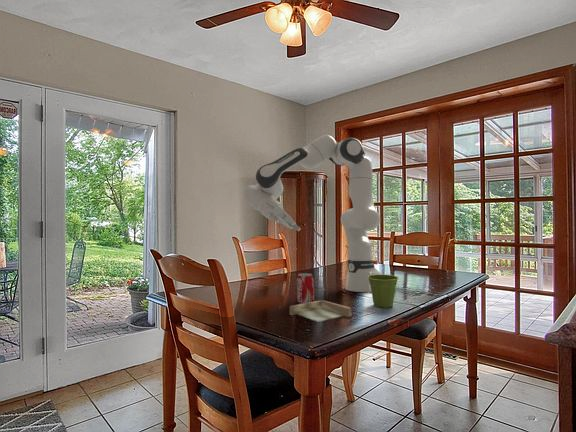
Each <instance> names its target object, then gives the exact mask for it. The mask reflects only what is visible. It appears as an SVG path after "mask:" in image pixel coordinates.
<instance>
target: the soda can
mask: <svg viewBox="0 0 576 432" xmlns="http://www.w3.org/2000/svg"><path fill="white" fill-rule="evenodd" d="M296 300H297V304H303V303H309V302H314V301H315V278H314V276H313V274H312V273H309V272H308V273H307V272H303V273H298V274H297V278H296Z"/></svg>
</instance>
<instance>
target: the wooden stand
mask: <svg viewBox="0 0 576 432" xmlns="http://www.w3.org/2000/svg"><path fill="white" fill-rule="evenodd" d="M296 315H297V316H299V317H303V318H306V319H309V320H311V321H314V322H316V323H320V322H321V323H322V322H325V321H329V320H332V319H333V320H335V319H337V318H341V317H347V318H350V317H352V307H349V306H346V305H342V304H338V303H335V302H331V301H327V300H324V299H319V300H314V302H309V303H303V304H299V303H297V304H294V305H293V304H292V305H289V316H296Z"/></svg>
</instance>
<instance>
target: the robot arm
mask: <svg viewBox="0 0 576 432" xmlns="http://www.w3.org/2000/svg"><path fill="white" fill-rule="evenodd" d="M365 155H366V153H365V151H364V146H363V144H362V142H361V141H360V140H359V139H358V138H356V137H347V138H345V139H343V140H341V141H336V140H335V138H334V137H333V136H331V135H329V134H323V135H321V136H319V137H317V138H316V139H313V140H312V141H311V142H310V143H308V144H307V145H305V146H304V147H298V148H295V149H293V150H291V151H290V152H288V153H286V154H284V155H283V156H281V157H279V158H278V159H276V160H274V161H272V162H269V163H266V164H264V165H261V166H260V167H258V169H257V171H256V174H255V179H256V181H257V183H256V184H252V185H251V184H250V185H248V186H247V187H246V188H245V189H244V192H243V200H244V202H245V203H246V204H248V206H250V207H251V208H252V209H254V210H255V211H258V212H259V213H260V214H261V215H263V217H265V218H266V219H268V220H269V221H273V222H275V223H279V224H281V225H283V226H284V227H286V228H287V229H290V230H295V231H297V232H300V231H301V230H302V229H301V227H300V226H299V225H298V224H297V223H296V221H295V220H294V219H293V218H292V217H291V216H290V215H289V214H288V213H287V212H286V210H284V206H283V204H282V203H281V202H280V201H278V199H279V198H280V197H281V196H282V195H283V194H284V189H285V188H284V185H283V182H282V179H281V176H282V174H283V173H286V172H287V171H288V170H289V169H291V168H294V166H297V165H300V166H301V167H302V168H304V169H306V170H311V171H312V170H315V169H317V168H318V167H319V166H321V165H322V164H323V163H324V162H326V161H327V160H329V161H331V162H332V163H333V164H334V165H335V166H341V167H342V166H346V165H347V167H348V170H349V171H348V172H349V175H348V176H349V177H348V178H349V180H348V196H349V197H348V198H350V200H351V203H352V208H349V209H347V210H345V211H343V212H342V214H341V216H340V223H341V225H342V226H343V230H344V232H345V237H346V240H347V252H348V255H347V257H348V259H347V262H346V263H347V269H348V270H347V273H346V274H347V276H346V284H345V290H346V291H350V292H357V293H358V292H359V293H372V291H371V286H370V283H369V279H368V278H367V276H369V275H378V274H382V275H384V274H383V273H382V272H380V271H379V270H378V269H377V268H376V267H375V265H378V264H379V261H378V260H377V259H374V260H373V255H372V253H373V251H372V247H373V246H372V242H371V240H370V239H369V236H368V233H367V232H369V231H370V232H371V231H372V230H375V229H377V228H378V227H379V225H380V222H381V216H380V214H379V212H378V211H377V209H376V207H375V204H374V203H375V202H374V197H373V178H374V177H373V175H374V174H373V165H372V160H371V159H370V158H369V157H367V156H365Z"/></svg>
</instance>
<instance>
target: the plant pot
mask: <svg viewBox="0 0 576 432" xmlns="http://www.w3.org/2000/svg"><path fill="white" fill-rule="evenodd" d="M382 274H383V273H381V274H378V275H369V276H367V278H368V279H369V283H370V286H371V291H372V292H371V296H372V302H373V305H374V307H376V308H379V307H381V308H384V309H387V308H392V307H393V305H394V301H395V293H396V287H397V283H398V280H399V276H396V275H391V274H383V275H382Z"/></svg>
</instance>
